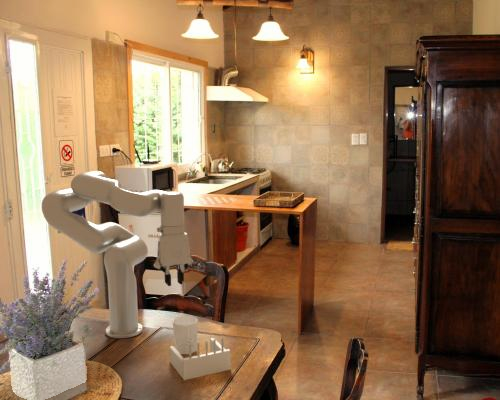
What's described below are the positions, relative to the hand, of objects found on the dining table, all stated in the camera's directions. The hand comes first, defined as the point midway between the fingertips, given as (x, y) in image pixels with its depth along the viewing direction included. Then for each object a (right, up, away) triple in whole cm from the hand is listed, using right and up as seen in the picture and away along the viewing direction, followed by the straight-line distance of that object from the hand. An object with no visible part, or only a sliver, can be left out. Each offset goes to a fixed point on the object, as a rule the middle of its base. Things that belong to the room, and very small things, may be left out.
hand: (174, 283), depth 179 cm
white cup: (+4, -21, -6) cm, 22 cm away
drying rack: (+10, -22, -17) cm, 29 cm away
